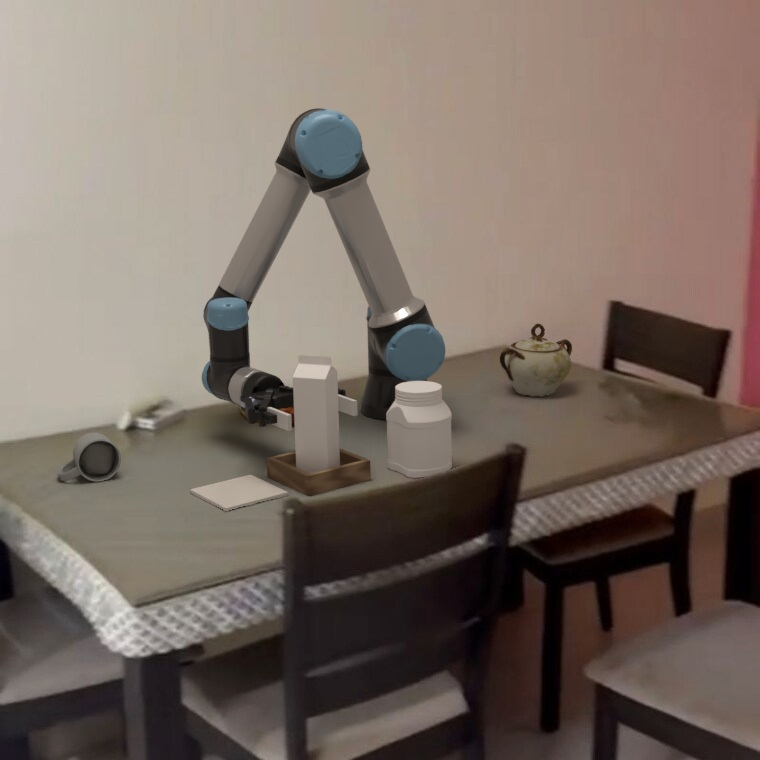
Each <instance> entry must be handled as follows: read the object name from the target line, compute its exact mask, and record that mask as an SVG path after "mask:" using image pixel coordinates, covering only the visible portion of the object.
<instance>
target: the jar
mask: <svg viewBox="0 0 760 760" xmlns="http://www.w3.org/2000/svg"><path fill="white" fill-rule="evenodd" d="M395 397H396V398H395V401H394V402H393V404H392V405H391V407H390V408H389V410H388V411H387V413H386V438H387V440H386V443H387V451H386V452H387V460H386V464H387V465H386V468H387V470H390V471H394V472H398V473H400V474H402V475H403V476H405V477H406V478H409V479H421V478H420V477H424V476H429V475H432V474H435V473H439V472H442V471H445V470H448V469H450V468H453V460H452V419H453V418H452V417H453V413H452V410H451V409H450V408H449V405H447V403H446V402H445V401H444V400H443V386H442V384H441V383H438V382H434V381H428V380H427V381H409V382H403V383H400V384H398V385H396V387H395Z"/></svg>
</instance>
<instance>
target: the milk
mask: <svg viewBox="0 0 760 760" xmlns="http://www.w3.org/2000/svg"><path fill="white" fill-rule="evenodd" d="M297 357H298V365H297V366H296V369H295V371H294V373H293V375H292V388H293V397H294V422H293V423H294V441H295V443H294V444H295V445H294V446H295V447H294V448H295V449H294V450H295V451H296V468H298V469H300V470H303V471H305V472H307V473H314V472H318V471H322V470H326V469H330V468H334V467H337V466H340V449H341V448H340V419H339V417H340V414H339V412H340V411H338V388H339V386H338V382H339V381H338V380H339V379H338V378H339V377H338V370H337V369H336V368H335V367H333V365H332V358H331V357H330V356H327V355H326V356H323V355H309V354H308V355H306V354H299V355H298V356H297Z"/></svg>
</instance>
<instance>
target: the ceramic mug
mask: <svg viewBox="0 0 760 760" xmlns="http://www.w3.org/2000/svg"><path fill="white" fill-rule="evenodd" d="M72 451H73V452H72V456H73V458H72V459H70V460H69V461H67V462H66V463H65V464H63V465H61V467H59V468H58V470H57V472H56V474H57V477H58V478H59V480H60V481H62V482H67V481H70V480H73V479H75V478H77V477H79V476H82V477H83V478H84V479H85V480H88V481H89V482H94V483H95V482H96V483H99V482H98V481H101V482H105V481H107V480H110V479H111V478H113V477H114V476H115V474H116V473H117V472H118V470H119V469H120V466H121V462H122V458H121V452H120V449H119V448H118V446H117V445H116V443H114V442H113V441H112V440H111V438H109V437H108V436H107V435H104V434H102V433H99V432H88V433H86V434H84V435H82V436H80V437H79V438H78V439H77V440H76V442H75V443H74V446H73V450H72ZM104 480H105V481H104Z"/></svg>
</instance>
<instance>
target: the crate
mask: <svg viewBox="0 0 760 760" xmlns="http://www.w3.org/2000/svg"><path fill="white" fill-rule="evenodd" d="M371 469H372V468H371V460H370V459H368V458H365V457H363V456H360V455H357V454H355V453H353V452H351V451H347V450H345V449H342V448H340V466H337V467H334V468H330V469H326V470H322V471H318V472H314V473H307V472H305V471H303V470H300V469H298V468H296V450H294V451H290V452H289V451H288V452H286V453H282V454H281V453H280V454H278V455H273V456H269V457H266V477H267V478H269V479H271V480H274V481H275V482H278V483H280V484H282V485H284V486H286V487H289V488H290V489H292V490H295V491H296V492H299V493H301V494H303V495H305V496H308V497H310V496H314V495H318V494H321V493H322V494H323V493H325V492H329V491H333V490H337V489H340V488H344V487H348V486H353V485H356V484H360V483H363V482H367V481H370V480H371V479H372V478H371V477H372V474H371V473H372V472H371V471H372V470H371Z"/></svg>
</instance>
